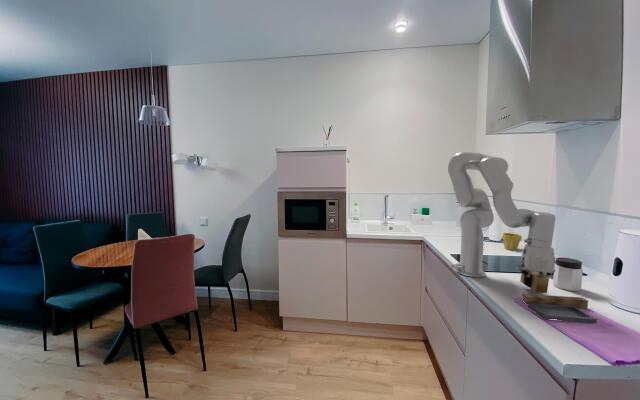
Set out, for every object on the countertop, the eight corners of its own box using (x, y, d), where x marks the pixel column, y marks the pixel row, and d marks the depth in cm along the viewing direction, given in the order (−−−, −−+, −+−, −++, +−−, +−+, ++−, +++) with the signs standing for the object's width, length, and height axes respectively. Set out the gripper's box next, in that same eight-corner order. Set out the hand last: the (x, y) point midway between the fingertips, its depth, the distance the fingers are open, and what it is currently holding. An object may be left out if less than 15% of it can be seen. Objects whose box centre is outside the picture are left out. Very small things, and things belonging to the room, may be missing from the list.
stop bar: (535, 292, 103) (537, 277, 103) (520, 281, 113) (522, 268, 112) (546, 293, 103) (549, 278, 102) (530, 282, 113) (532, 268, 112)
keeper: (545, 320, 87) (545, 315, 87) (528, 306, 96) (528, 302, 96) (596, 323, 85) (597, 319, 85) (574, 309, 94) (574, 305, 94)
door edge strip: (526, 304, 98) (527, 296, 98) (522, 301, 100) (522, 293, 100) (587, 308, 95) (588, 300, 95) (581, 305, 97) (582, 297, 97)
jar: (566, 283, 118) (568, 256, 117) (586, 290, 110) (588, 262, 109) (547, 283, 117) (549, 257, 116) (566, 291, 109) (569, 263, 108)
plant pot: (524, 250, 170) (525, 235, 169) (511, 251, 168) (512, 236, 167) (509, 246, 180) (510, 232, 179) (497, 247, 178) (498, 233, 177)
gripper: (522, 244, 103) (516, 288, 105) (569, 247, 101) (562, 292, 103) (511, 239, 110) (505, 280, 113) (555, 241, 108) (549, 283, 110)
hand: (533, 285), depth 108 cm, fingers closed on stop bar, 4 cm apart
